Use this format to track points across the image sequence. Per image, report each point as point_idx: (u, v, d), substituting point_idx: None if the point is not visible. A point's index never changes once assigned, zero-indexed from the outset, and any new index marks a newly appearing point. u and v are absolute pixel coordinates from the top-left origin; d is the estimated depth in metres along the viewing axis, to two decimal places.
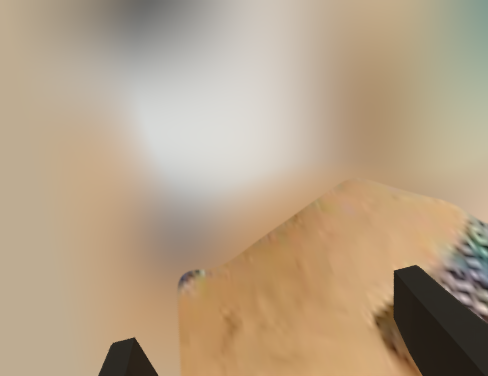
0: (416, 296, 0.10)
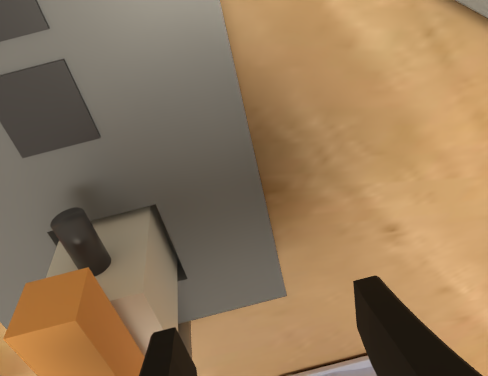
0: (371, 308, 0.10)
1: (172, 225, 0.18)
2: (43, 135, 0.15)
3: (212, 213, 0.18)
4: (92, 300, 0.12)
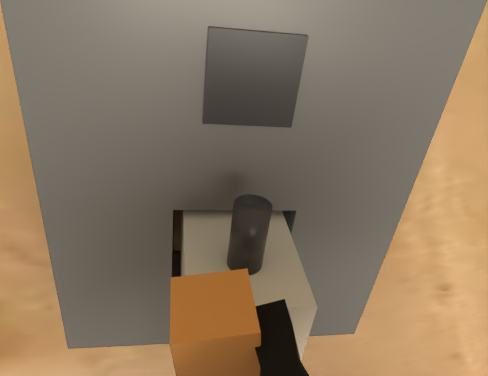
0: None
1: (298, 236, 0.17)
2: (239, 106, 0.13)
3: (340, 235, 0.17)
4: None
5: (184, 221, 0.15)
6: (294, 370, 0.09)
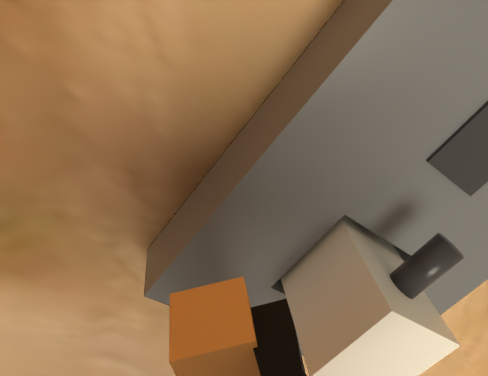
0: None
1: None
2: (458, 163, 0.16)
3: None
4: None
5: (346, 228, 0.17)
6: (296, 369, 0.09)
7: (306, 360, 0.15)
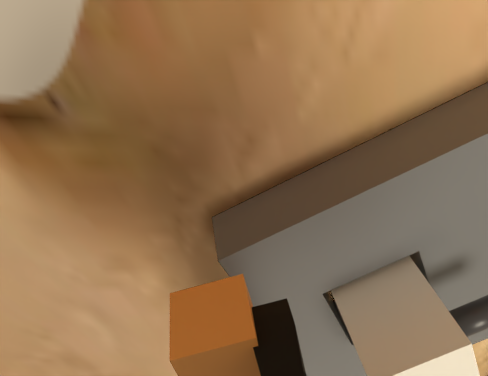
0: None
1: None
2: None
3: None
4: None
5: (414, 263, 0.19)
6: (297, 369, 0.09)
7: (366, 368, 0.16)
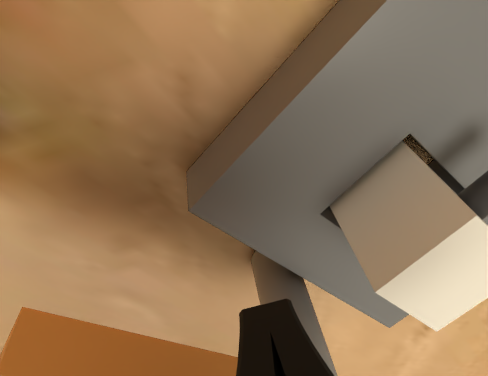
0: (271, 333, 0.10)
1: None
2: None
3: None
4: (37, 337, 0.11)
5: (409, 148, 0.16)
6: None
7: (369, 277, 0.14)
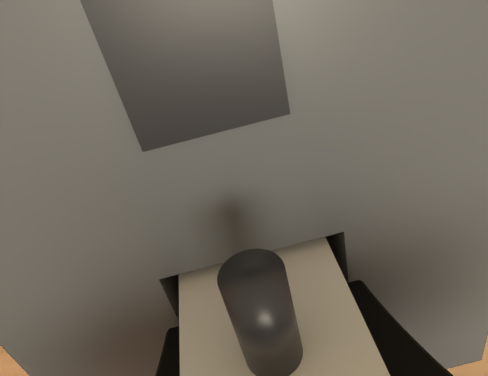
0: None
1: (358, 265, 0.11)
2: (190, 107, 0.08)
3: (425, 245, 0.11)
4: None
5: (180, 291, 0.10)
6: None
7: None
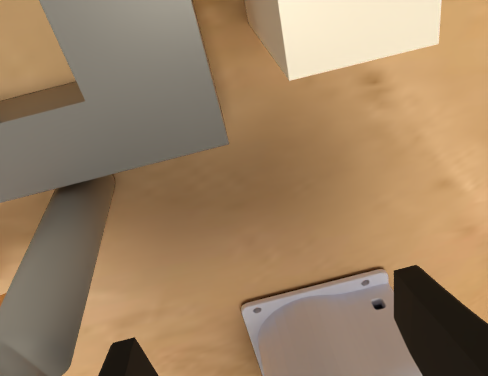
0: (416, 296, 0.10)
1: None
2: None
3: None
4: None
5: None
6: None
7: (283, 70, 0.11)
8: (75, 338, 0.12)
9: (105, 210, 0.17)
